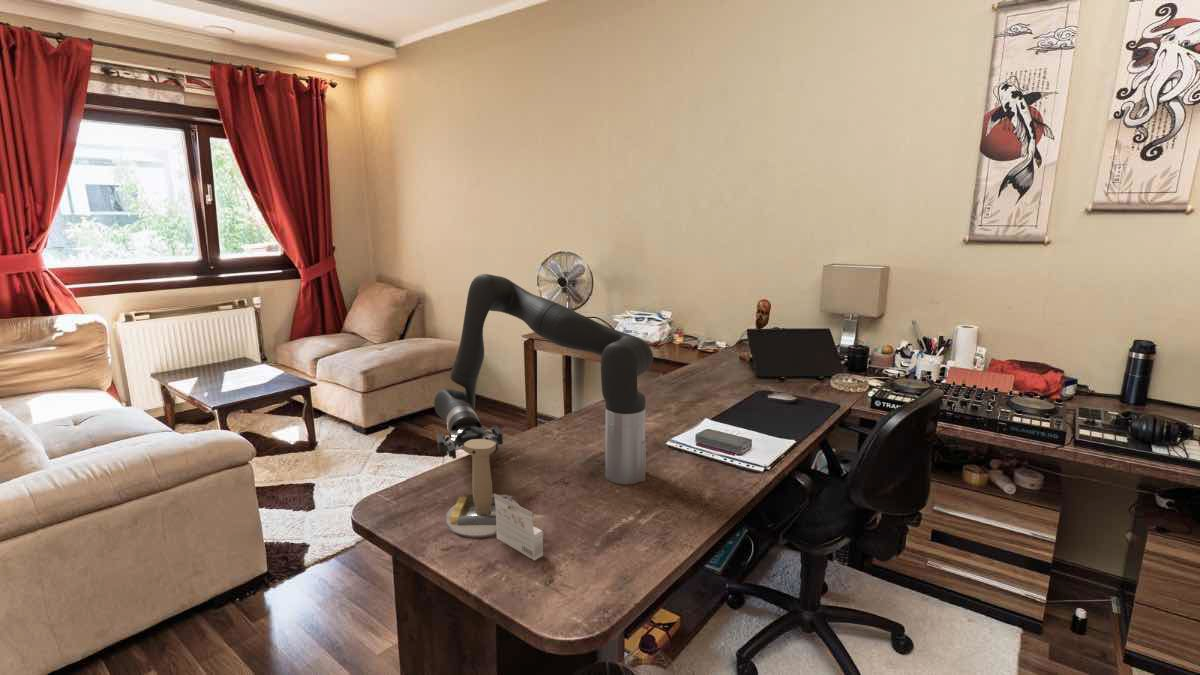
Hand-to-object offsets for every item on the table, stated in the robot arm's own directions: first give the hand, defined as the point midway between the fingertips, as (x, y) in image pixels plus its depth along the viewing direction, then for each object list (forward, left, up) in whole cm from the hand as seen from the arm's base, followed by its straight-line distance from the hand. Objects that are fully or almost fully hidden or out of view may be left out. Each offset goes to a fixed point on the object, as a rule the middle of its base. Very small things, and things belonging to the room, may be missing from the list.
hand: (474, 451), depth 124 cm
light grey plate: (-3, +8, -11) cm, 14 cm away
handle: (-3, +8, -10) cm, 13 cm away
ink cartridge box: (-12, +19, -11) cm, 25 cm away
